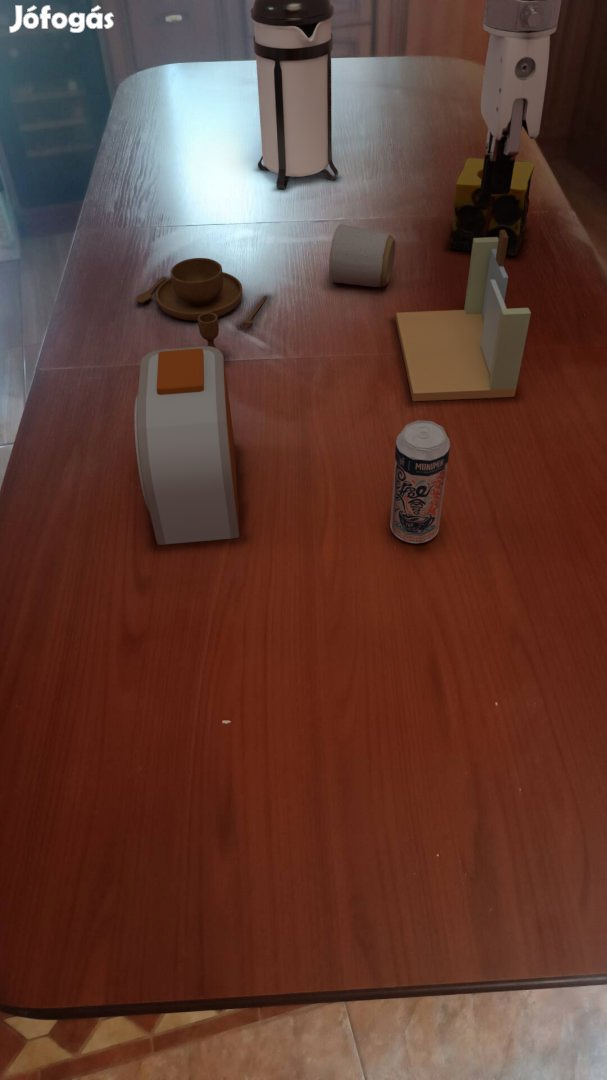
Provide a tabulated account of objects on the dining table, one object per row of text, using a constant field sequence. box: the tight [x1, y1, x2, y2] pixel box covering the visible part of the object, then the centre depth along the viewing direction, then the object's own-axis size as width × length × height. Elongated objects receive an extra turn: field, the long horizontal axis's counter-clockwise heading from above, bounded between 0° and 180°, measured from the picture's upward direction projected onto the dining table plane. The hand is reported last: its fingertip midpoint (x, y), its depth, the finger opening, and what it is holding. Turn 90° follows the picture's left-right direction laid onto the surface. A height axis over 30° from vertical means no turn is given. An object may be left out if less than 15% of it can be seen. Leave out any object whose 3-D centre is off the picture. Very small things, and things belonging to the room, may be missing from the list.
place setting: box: [135, 257, 268, 348], centre depth 106 cm, size 18×20×6 cm
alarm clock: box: [133, 345, 241, 546], centre depth 79 cm, size 15×8×14 cm, turn 5°
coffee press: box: [250, 0, 339, 190], centre depth 131 cm, size 17×16×30 cm
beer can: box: [389, 419, 451, 544], centre depth 75 cm, size 5×5×12 cm
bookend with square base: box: [395, 237, 532, 402], centre depth 96 cm, size 12×18×11 cm, turn 2°
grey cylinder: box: [328, 224, 396, 288], centre depth 112 cm, size 11×8×8 cm
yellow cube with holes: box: [449, 157, 536, 257], centre depth 118 cm, size 10×10×10 cm
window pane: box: [482, 230, 509, 318], centre depth 97 cm, size 1×7×12 cm, turn 2°
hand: (494, 191), depth 96 cm, fingers closed
